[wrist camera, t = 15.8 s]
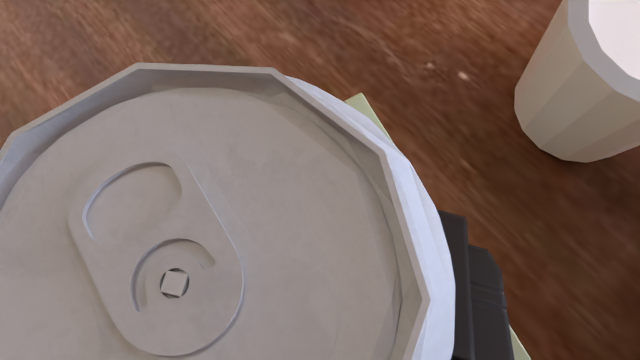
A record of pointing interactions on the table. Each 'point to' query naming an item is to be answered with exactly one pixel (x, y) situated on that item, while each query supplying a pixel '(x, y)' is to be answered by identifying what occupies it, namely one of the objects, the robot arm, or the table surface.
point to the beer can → (217, 227)
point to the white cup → (584, 82)
